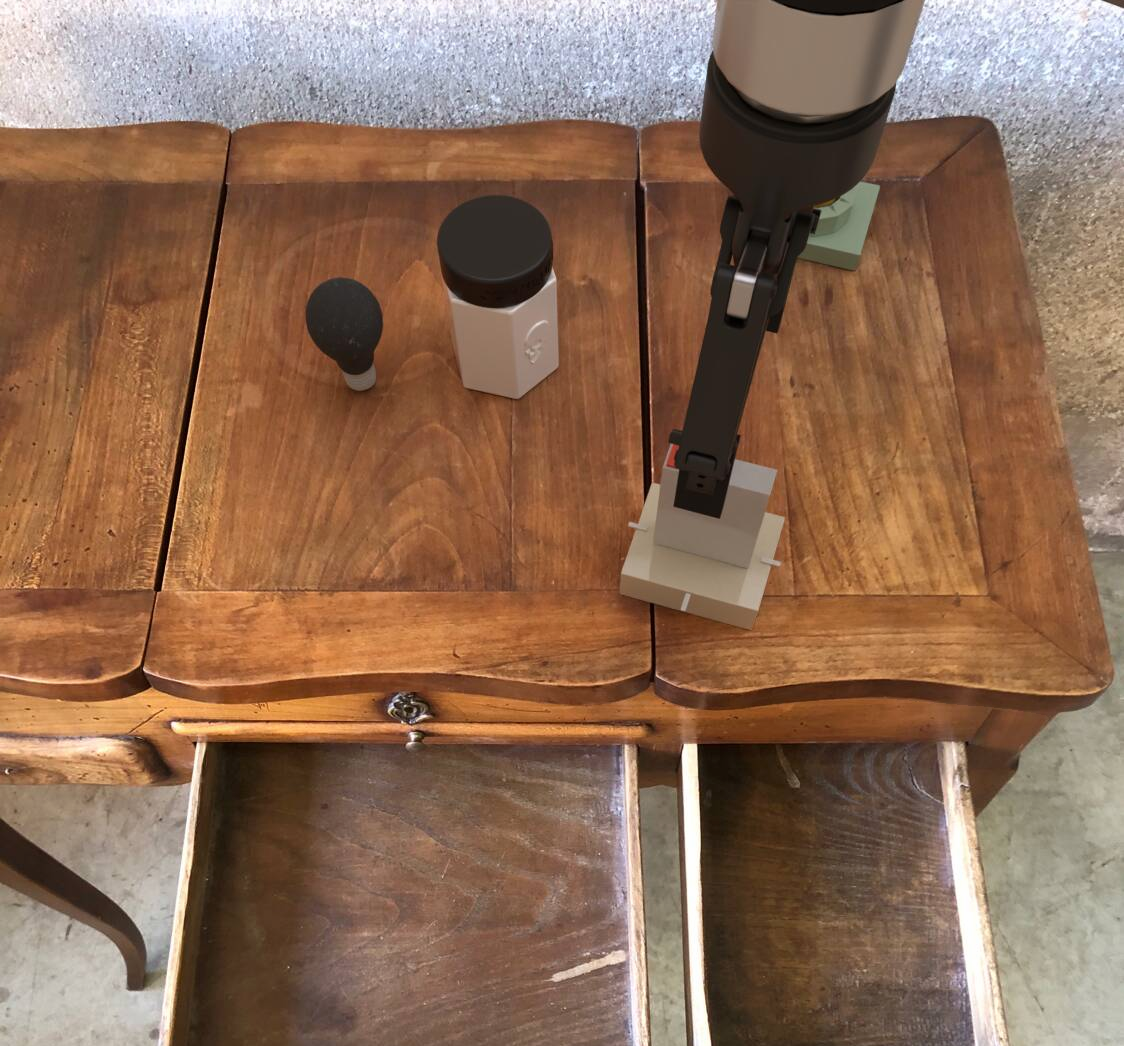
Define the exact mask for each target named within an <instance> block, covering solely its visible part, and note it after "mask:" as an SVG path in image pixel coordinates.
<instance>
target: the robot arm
mask: <svg viewBox="0 0 1124 1046" xmlns="http://www.w3.org/2000/svg"><path fill="white" fill-rule="evenodd" d="M925 1H926V0H716V8H715V15H714V23H713V24H714V25H713V32H712V39H711V45H712V51H711V53H710V54H709V58H708V61H707V67H706V76H705V83H704V90H703V91H704V92H703V99H702V107H701V115H700V122H699V132H698V134H699V137H698V138H699V146H700V151H701V153H702V156H703V158H704V162H705V163H706V166H707V167H708V169H709V170H710V171H711V173H712V174H713V175H714V177H715V178H716V179H717V180H718V181H719V182H721V184H722V185H724V186H725V187H726V188H727V189H728V190H729V191H730V192H731V193H732V194H730V193H729V194H728V196H727V199H726V202H725V206H724V209H723V213H722V218H721V222H720V226H719V234H720V237H721V244H720V250H719V253H718V257H717V261H716V265H715V269H714V272H713V276H712V281H711V286H710V291H709V292H710V293H709V294H710V296H711V299H710V304H709V305H710V306H709V309H708V316H707V319H706V320H707V321H706V324H705V325H706V326H705V329H704V334H703V337H702V338H703V339H702V343H701V347H700V352H699V356H698V361H697V365H696V370H695V374H694V378H693V383H692V387H691V391H690V396H689V401H688V405H687V410H686V414H685V418H684V423H683V427H682V430H681V429H676V428H673V429H672V430H671V431H670V433H669V436H668V444H674V445H678V446H679V449H678V450H676V453H675V456H674V460H675V463H674V466H675V468H676V469H679V474H678V480H677V487H676V493H675V499H674V505H673V507H676V508H680V509H684V510H687V511H691V512H695V513H699V514H703V515H706V516H710V517H714V518H718V519H720V517H721V514H722V511H723V507H724V503H725V499H726V494H727V490H728V486H729V482H730V478H731V474H732V469H733V465H734V461H735V459H736V457H737V453H738V449H739V444H740V439H741V434H739V430H740V426H741V422H742V419H743V415H744V412H745V408H746V404H747V400H748V397H749V393H750V389H751V386H752V382H753V378H754V375H755V372H756V367H757V364H758V360H759V357H760V354H761V349H762V346H763V342H764V339H765V335H766V332H770V333H773V334H778V333H779V331H780V330H779V329H780V326H781V323H782V319H783V316H784V311H785V307H786V303H787V300H788V295H789V293H790V288H791V284H792V280H793V276H794V272H795V268H796V265H797V261H798V259H799V258H798V256H799V255H800V254H801V253H802V252H803V251H804V250H805V248H806V245H807V242H808V238H809V235H810V233H812V234H815V232H816V229H817V225H818V222H819V218H820V215H821V211H822V210H819V209H814V206H815V205H820V204H823V203H826V202H829V201H831V200H834V199H836V198H838V197H840V196H842V195H844V194H845V193H847V192H848V191H850V190H851V189H852V188H854V187H855V186H856V185H857V184H858V183H859V182H860V181H861V182H862V180H863V179H864V178H865V176H867V174H868V173H869V171H870V169H871V167H872V165H873V163H874V161H875V159H876V157H877V156H876V155H877V152H878V149H879V145H880V142H881V140H882V136H883V133H884V130H885V127H886V124H887V120H888V116H889V114H890V110H891V107H892V104H893V100H894V97H895V94H896V88H897V82H898V79H899V78H900V77H901V75H902V73H903V71H905V67H906V63H907V60H908V57H909V54H910V51H911V48H912V44H913V41H914V37H915V34H916V31H917V27H918V24H919V21H920V18H921V16H922V15H921V14H922V11H923V8H924V6H925ZM1101 1H1102V2H1104V3H1107V4H1110V5H1112V6H1115V7H1118V8H1120V9H1123V10H1124V0H1101ZM732 259H733V264H731V263H732Z"/></svg>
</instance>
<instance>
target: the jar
mask: <svg viewBox="0 0 1124 1046" xmlns="http://www.w3.org/2000/svg"><path fill="white" fill-rule="evenodd" d="M436 247H437V248H436V249H437V255H438V256H437V258H438V265H439V270H440V276H441V283H442V289H443V296H444V303H445V308H446V315H447V320H448V328H449V334H450V340H451V346H452V349H453V353H454V355H455V356H454V357H455V360H456V364H457V368H458V371H459V375H460V378H461V383H462V386H463V387H464V388H465V389H469V390H474V391H479V392H483V393H487V394H492V395H496V396H500V397H506V398H509V399H514V400H520V399H521V398H522V397H524V396H525V394H527V393H528V392H529V391H530V390H532V389H533V388H535V387H536V386H537V385H538V384H540V383H541V382H542V381H543V380H545V378H547V377H548V376H549V375H551V374H552V373H553V372H555V371H556V370H557V369H558V368H559V367H560V365H559V364H560V361H559V359H560V358H559V357H560V356H559V323H558V321H559V320H558V287H557V286H558V285H557V282H558V281H557V280H558V279H557V276H556V273H555V270H554V266H553V263H554V241H553V237H552V229H551V226H550V224H549V221H548V220H547V218H546V217H545V215H544V214H543V213H542V212H541V211H540V209H538V208H537V207H536V206H535V205H533V204H532V203H530V202H528V201H526V200H524V199H521V198H518V197H516V196H511V195H505V194H488V195H482V196H481V195H480V196H477V197H474V198H471V199H468V200H466V201H463V202H462V203H460V204H458V205H457V206H456V207H454V208H453V209H451V211H450V212H448V214H447V215H446V216H445V217H444V219H443V220H442V222H441V223H440V226H439V227H438V231H437V235H436Z"/></svg>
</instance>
